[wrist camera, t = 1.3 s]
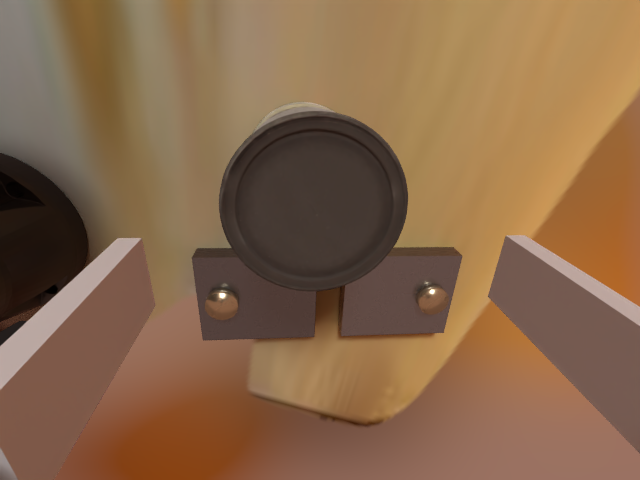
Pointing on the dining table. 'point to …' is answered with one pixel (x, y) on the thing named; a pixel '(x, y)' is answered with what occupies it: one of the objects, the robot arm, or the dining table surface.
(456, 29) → the dining table surface
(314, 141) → the coffee can
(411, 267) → the right end plate
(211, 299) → the left end plate
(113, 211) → the dining table surface
